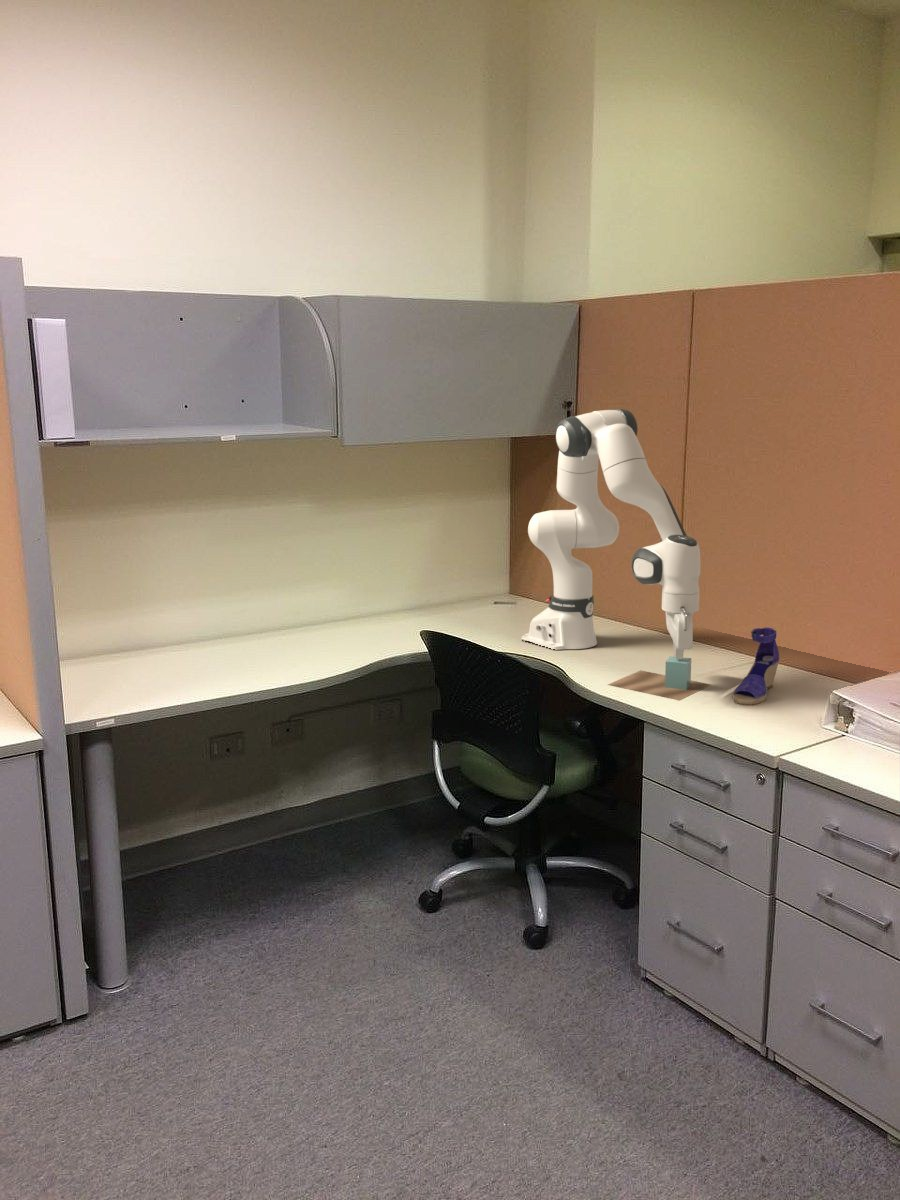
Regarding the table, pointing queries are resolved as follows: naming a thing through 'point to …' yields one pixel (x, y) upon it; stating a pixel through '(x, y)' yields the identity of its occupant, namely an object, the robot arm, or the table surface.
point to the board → (656, 685)
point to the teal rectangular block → (678, 673)
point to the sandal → (759, 669)
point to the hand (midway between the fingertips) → (678, 657)
